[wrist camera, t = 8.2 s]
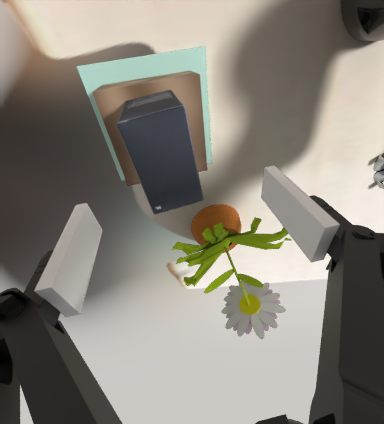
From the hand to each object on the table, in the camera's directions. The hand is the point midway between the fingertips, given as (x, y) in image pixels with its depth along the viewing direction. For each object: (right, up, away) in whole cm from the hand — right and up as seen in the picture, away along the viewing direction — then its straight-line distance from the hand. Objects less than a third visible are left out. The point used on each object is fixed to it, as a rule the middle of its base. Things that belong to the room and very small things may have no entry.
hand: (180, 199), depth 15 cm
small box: (-3, +10, +13) cm, 17 cm away
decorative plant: (+8, -3, +37) cm, 38 cm away
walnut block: (-5, +14, +18) cm, 24 cm away
